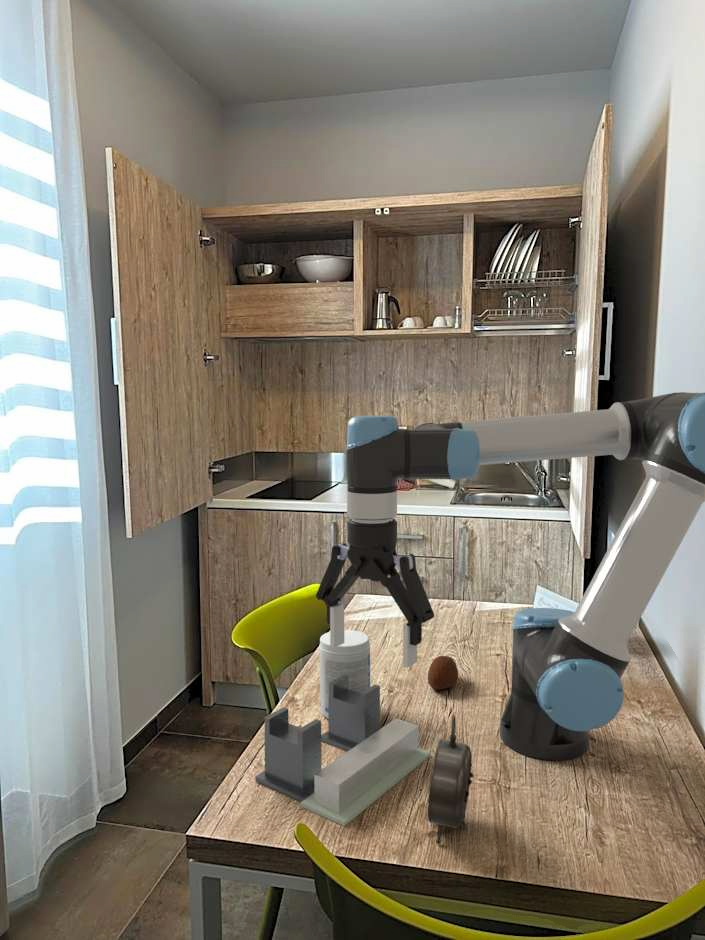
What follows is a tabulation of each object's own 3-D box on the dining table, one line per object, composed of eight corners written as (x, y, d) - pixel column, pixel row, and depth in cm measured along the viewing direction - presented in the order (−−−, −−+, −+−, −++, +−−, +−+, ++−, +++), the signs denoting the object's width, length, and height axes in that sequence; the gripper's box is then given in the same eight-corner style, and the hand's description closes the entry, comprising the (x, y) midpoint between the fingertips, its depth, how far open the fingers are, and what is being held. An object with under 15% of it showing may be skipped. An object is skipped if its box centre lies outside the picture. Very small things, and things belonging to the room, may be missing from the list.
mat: (430, 755, 118) (430, 752, 118) (344, 826, 99) (344, 822, 99) (390, 741, 123) (390, 737, 123) (300, 806, 104) (300, 802, 104)
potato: (463, 677, 150) (463, 648, 150) (452, 699, 140) (453, 668, 139) (435, 673, 152) (435, 644, 152) (422, 695, 142) (423, 664, 141)
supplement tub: (380, 716, 132) (380, 640, 131) (337, 729, 127) (337, 650, 125) (351, 697, 140) (352, 625, 139) (310, 708, 135) (310, 634, 133)
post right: (388, 743, 122) (388, 685, 121) (366, 758, 117) (367, 698, 116) (342, 726, 128) (342, 671, 127) (319, 740, 123) (319, 683, 122)
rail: (418, 751, 118) (418, 725, 118) (338, 814, 101) (339, 784, 100) (395, 743, 121) (396, 718, 120) (314, 803, 103) (314, 774, 103)
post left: (331, 784, 109) (331, 720, 108) (304, 803, 104) (304, 736, 103) (282, 763, 115) (282, 703, 114) (255, 781, 110) (254, 717, 109)
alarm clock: (438, 801, 105) (440, 697, 103) (474, 807, 103) (477, 702, 102) (424, 847, 95) (427, 732, 93) (465, 854, 93) (468, 738, 91)
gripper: (458, 523, 102) (456, 665, 104) (323, 507, 116) (324, 631, 119) (431, 532, 96) (430, 682, 98) (293, 513, 110) (295, 644, 113)
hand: (372, 654), depth 109 cm, fingers open, 13 cm apart
